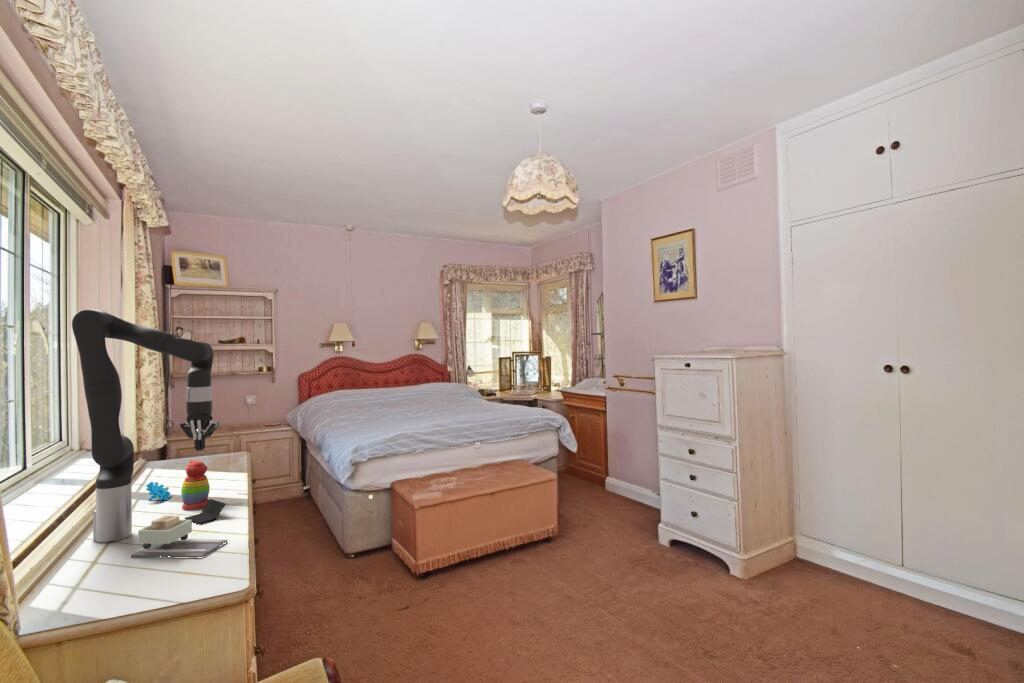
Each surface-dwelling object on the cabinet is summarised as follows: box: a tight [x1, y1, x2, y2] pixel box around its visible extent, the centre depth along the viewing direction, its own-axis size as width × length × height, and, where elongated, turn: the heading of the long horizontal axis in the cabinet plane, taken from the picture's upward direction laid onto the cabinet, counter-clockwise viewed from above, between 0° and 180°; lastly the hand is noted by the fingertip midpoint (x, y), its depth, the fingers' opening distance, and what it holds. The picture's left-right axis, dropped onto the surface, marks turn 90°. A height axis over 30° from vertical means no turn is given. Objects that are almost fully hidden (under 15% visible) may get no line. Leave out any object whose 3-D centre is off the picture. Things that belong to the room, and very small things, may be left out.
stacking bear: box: [180, 460, 211, 511], centre depth 196 cm, size 11×10×18 cm
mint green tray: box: [137, 519, 193, 549], centre depth 153 cm, size 10×10×6 cm
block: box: [151, 515, 180, 530], centre depth 153 cm, size 5×5×5 cm
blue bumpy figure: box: [146, 481, 172, 502], centre depth 205 cm, size 11×6×10 cm
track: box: [130, 538, 229, 558], centre depth 153 cm, size 22×12×1 cm, turn 86°
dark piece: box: [184, 498, 226, 525], centre depth 181 cm, size 12×7×10 cm
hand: (199, 450), depth 170 cm, fingers closed
